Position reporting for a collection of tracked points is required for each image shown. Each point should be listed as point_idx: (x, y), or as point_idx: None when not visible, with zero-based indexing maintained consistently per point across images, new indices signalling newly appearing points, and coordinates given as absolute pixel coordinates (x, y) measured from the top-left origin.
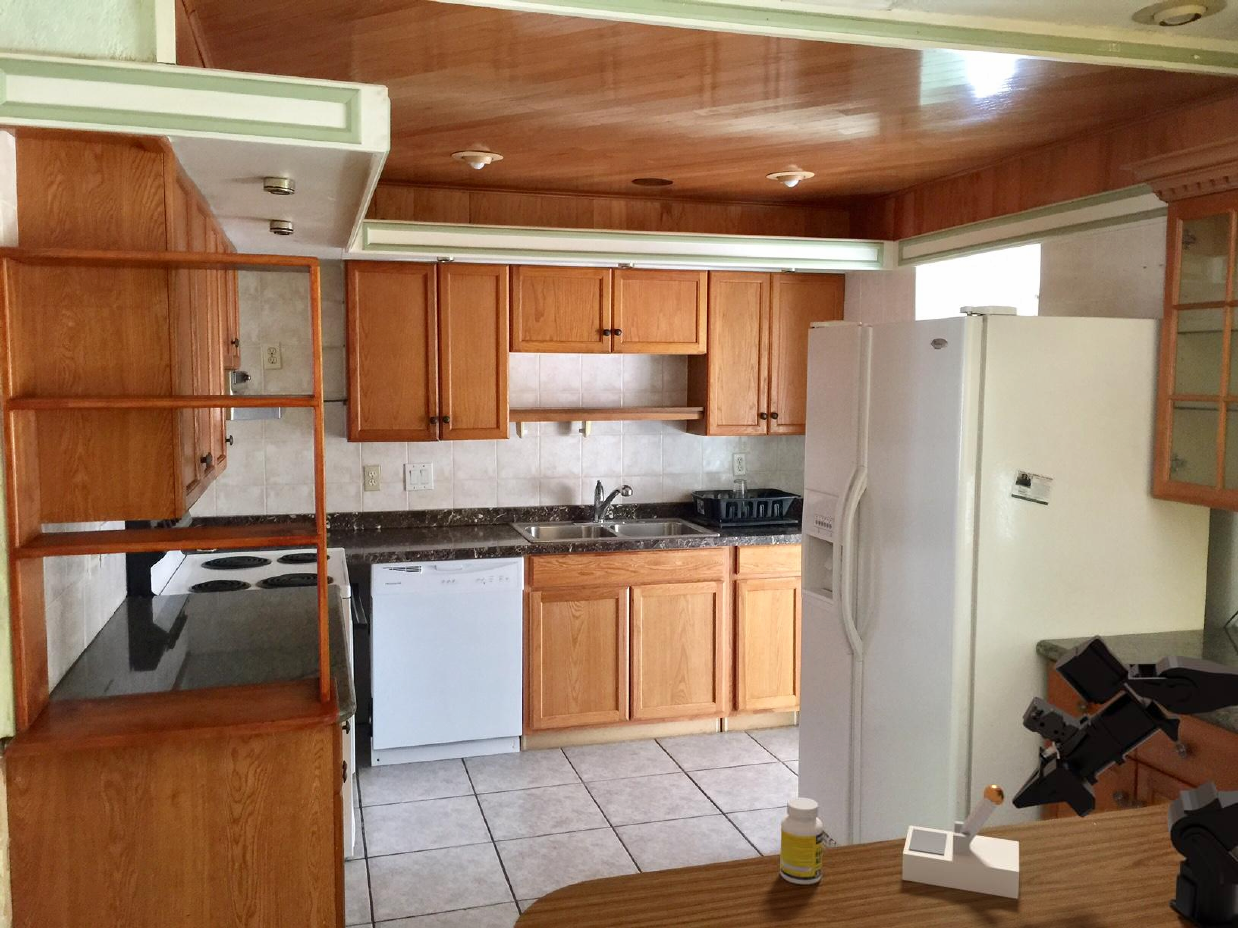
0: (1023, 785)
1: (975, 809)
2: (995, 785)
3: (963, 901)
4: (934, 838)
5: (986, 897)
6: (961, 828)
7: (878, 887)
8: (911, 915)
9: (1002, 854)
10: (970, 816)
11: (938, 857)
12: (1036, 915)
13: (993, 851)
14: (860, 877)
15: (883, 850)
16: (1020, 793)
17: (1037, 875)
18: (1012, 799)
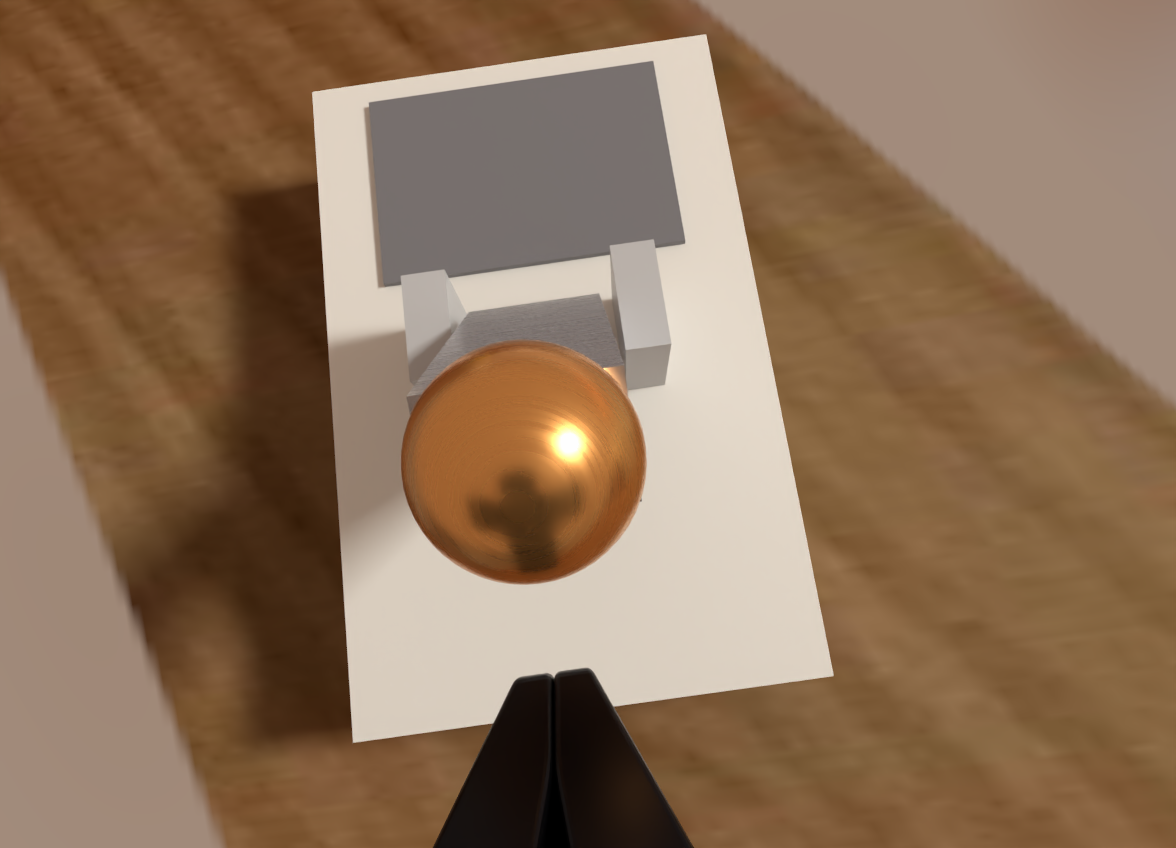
0: (660, 837)
1: (529, 338)
2: (531, 446)
3: (258, 469)
4: (576, 192)
5: None
6: (546, 304)
7: (239, 106)
8: (34, 288)
9: (564, 604)
10: (532, 325)
11: (343, 266)
12: (254, 841)
13: None
14: (301, 19)
15: (625, 30)
16: (471, 804)
17: (745, 790)
18: (583, 671)
